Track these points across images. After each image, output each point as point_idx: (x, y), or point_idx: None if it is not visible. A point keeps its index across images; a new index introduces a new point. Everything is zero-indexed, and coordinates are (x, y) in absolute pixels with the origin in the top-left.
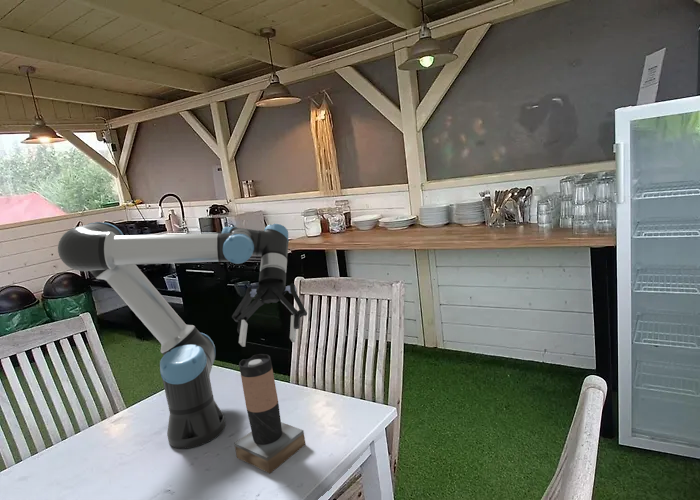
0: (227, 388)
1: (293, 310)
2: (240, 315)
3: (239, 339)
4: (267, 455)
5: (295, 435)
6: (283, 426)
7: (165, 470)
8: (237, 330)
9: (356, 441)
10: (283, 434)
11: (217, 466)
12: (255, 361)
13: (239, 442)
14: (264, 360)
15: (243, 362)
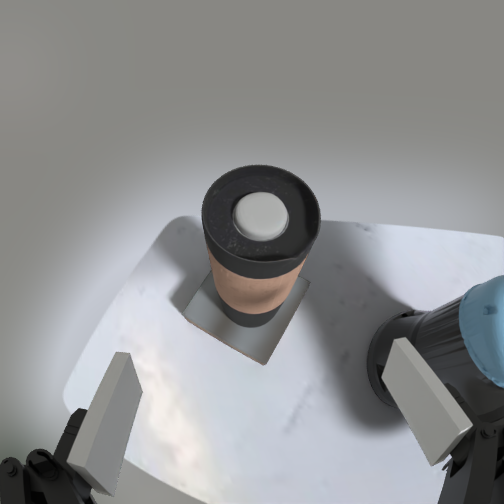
0: (413, 495)
1: (62, 496)
2: (494, 445)
3: (411, 346)
4: None
5: (194, 298)
6: (227, 331)
7: (397, 266)
8: (453, 387)
9: (105, 319)
10: (219, 303)
11: (326, 272)
12: (259, 210)
13: (301, 284)
14: (233, 238)
15: (313, 226)
